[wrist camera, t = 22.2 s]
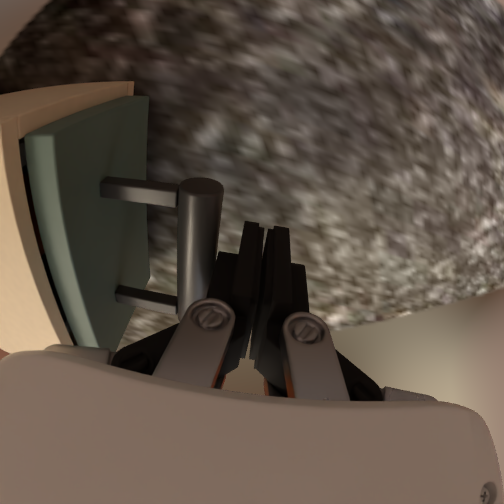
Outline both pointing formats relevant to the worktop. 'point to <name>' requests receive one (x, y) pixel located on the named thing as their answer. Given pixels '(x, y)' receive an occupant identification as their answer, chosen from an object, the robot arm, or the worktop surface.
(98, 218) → the green-fronted drawer
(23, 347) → the wooden drawer box
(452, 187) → the worktop surface
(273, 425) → the robot arm
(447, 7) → the worktop surface
